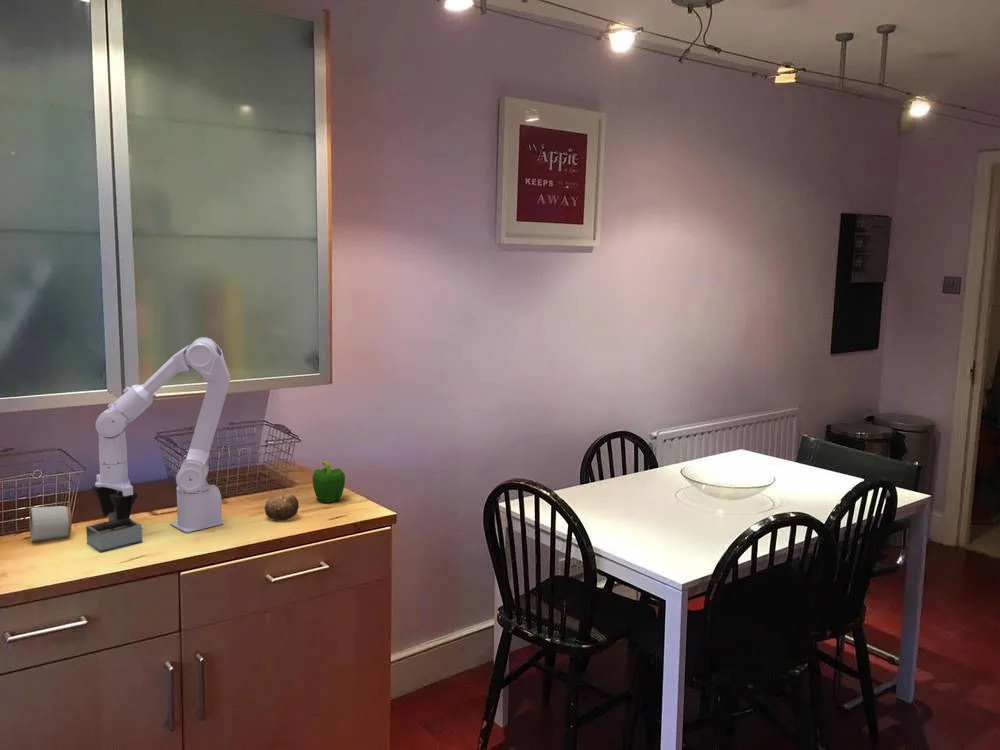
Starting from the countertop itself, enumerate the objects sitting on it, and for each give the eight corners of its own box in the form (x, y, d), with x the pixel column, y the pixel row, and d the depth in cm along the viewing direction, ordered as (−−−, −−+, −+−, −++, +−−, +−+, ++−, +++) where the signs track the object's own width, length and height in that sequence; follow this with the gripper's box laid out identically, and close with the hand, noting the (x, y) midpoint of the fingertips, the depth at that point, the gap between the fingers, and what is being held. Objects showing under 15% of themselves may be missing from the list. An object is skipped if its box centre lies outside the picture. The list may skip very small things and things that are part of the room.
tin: (128, 534, 189) (127, 517, 188) (142, 542, 184) (141, 524, 183) (87, 543, 182) (86, 526, 181) (100, 552, 177) (100, 534, 177)
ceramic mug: (73, 540, 184) (72, 507, 183) (32, 546, 180) (31, 513, 179) (67, 527, 192) (65, 496, 191) (28, 532, 188) (26, 500, 187)
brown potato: (285, 496, 209) (282, 481, 205) (307, 514, 206) (304, 499, 201) (260, 517, 205) (256, 502, 200) (282, 535, 201) (278, 520, 197)
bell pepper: (347, 503, 216) (348, 466, 214) (315, 506, 213) (315, 468, 211) (341, 494, 224) (341, 457, 222) (310, 496, 220) (310, 459, 219)
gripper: (81, 458, 191) (84, 515, 193) (109, 471, 181) (111, 531, 183) (112, 453, 196) (115, 508, 198) (141, 465, 186) (143, 523, 189)
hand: (115, 519), depth 191 cm, fingers open, 7 cm apart
